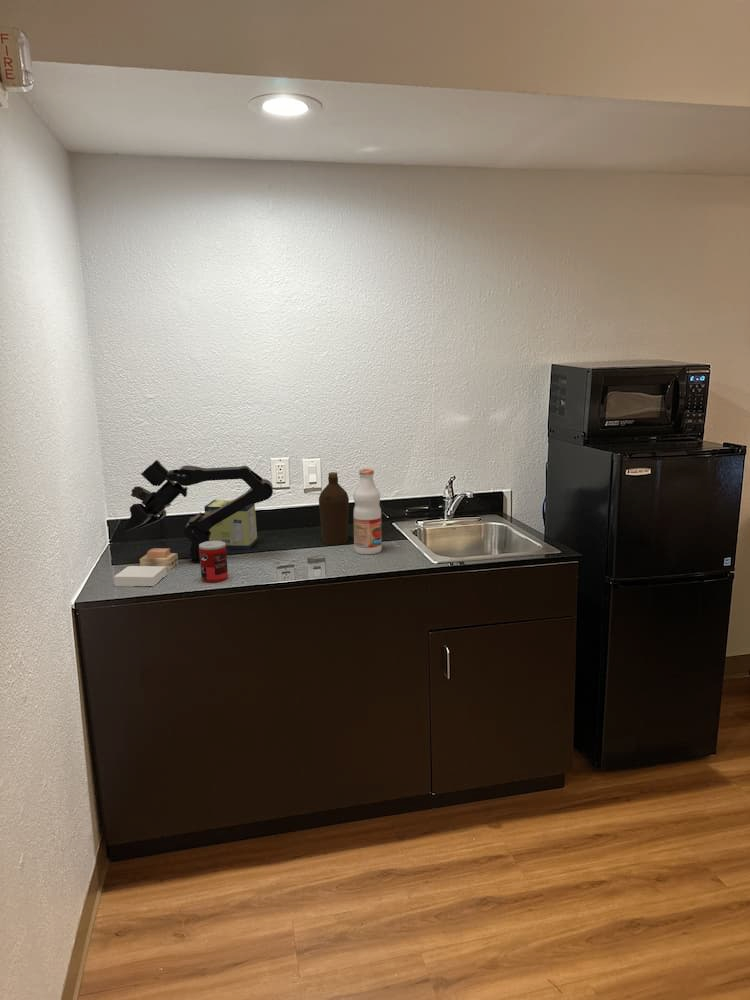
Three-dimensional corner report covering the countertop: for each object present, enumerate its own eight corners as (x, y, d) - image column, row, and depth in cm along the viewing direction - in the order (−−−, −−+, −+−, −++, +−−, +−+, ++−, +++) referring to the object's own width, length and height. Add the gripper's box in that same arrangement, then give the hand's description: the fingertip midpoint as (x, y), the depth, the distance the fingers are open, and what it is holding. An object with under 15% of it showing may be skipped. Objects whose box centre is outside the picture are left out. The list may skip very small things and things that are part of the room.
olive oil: (351, 544, 240) (349, 475, 235) (321, 546, 239) (319, 476, 233) (348, 536, 251) (346, 469, 245) (319, 538, 249) (316, 471, 243)
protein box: (216, 541, 248) (212, 499, 245) (257, 541, 247) (255, 499, 243) (206, 549, 238) (203, 506, 235) (250, 549, 237) (247, 506, 233)
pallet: (178, 563, 223) (177, 553, 223) (170, 570, 217) (169, 559, 216) (149, 563, 224) (148, 552, 224) (140, 569, 218) (139, 559, 217)
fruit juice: (355, 546, 238) (353, 467, 232) (382, 546, 237) (381, 467, 231) (353, 554, 229) (350, 473, 222) (381, 555, 228) (379, 472, 222)
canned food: (203, 575, 211) (200, 541, 209) (229, 573, 212) (227, 539, 210) (199, 583, 204) (196, 548, 201) (226, 582, 205) (224, 547, 202)
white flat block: (166, 575, 211) (165, 566, 211) (153, 586, 202) (152, 577, 201) (129, 575, 213) (128, 565, 212) (114, 586, 203) (113, 576, 202)
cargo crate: (170, 554, 222) (170, 548, 221) (165, 558, 218) (165, 552, 217) (152, 554, 222) (152, 548, 222) (147, 557, 218) (147, 552, 218)
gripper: (157, 478, 229) (124, 509, 230) (136, 478, 211) (100, 512, 211) (180, 502, 229) (147, 533, 230) (161, 504, 211) (125, 538, 211)
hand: (130, 529), depth 221 cm, fingers open, 9 cm apart
